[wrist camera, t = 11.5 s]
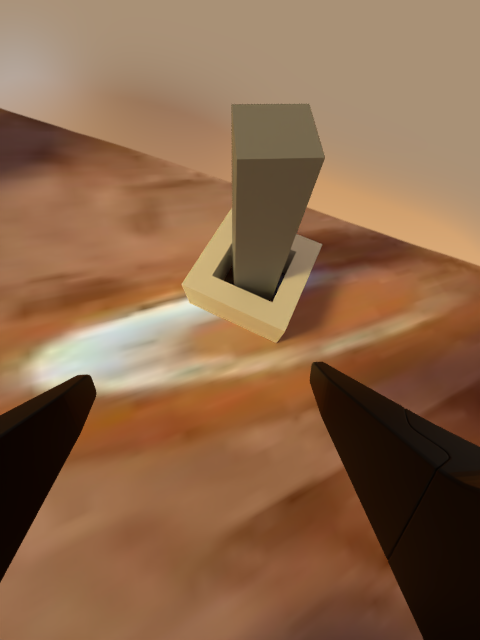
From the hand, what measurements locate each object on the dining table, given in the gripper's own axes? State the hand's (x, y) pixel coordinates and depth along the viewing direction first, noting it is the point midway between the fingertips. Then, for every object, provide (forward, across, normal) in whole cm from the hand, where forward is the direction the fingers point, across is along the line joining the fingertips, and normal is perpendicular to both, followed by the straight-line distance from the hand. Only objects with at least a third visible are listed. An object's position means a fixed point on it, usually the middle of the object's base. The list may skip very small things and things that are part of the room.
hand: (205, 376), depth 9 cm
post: (+17, -4, +1) cm, 17 cm away
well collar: (+16, -4, +1) cm, 17 cm away
